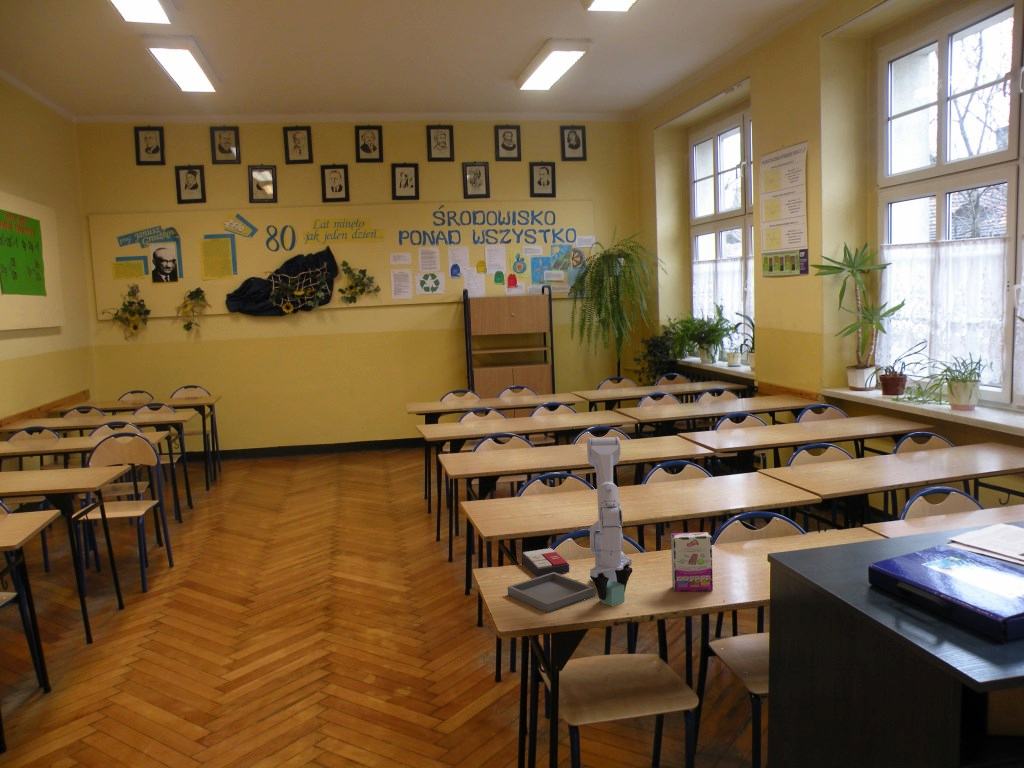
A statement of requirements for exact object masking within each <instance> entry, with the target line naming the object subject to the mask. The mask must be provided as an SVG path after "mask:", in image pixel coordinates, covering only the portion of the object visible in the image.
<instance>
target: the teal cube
mask: <svg viewBox="0 0 1024 768" xmlns="http://www.w3.org/2000/svg"><path fill="white" fill-rule="evenodd" d="M598 600H599V602H600V601H601V603H603V602H604V603H603V604H605V603H606V605H608V604H609V605H608V606H610V605H611V606H610V607H614V606H616V605H615V604H617V605H619V604H618V603H620V602H622V603H624V601H625V600H626V599H625V593H624V585H623V584H620V583H618V582H615V581H612V580H611V581H608V583H607V588H606V600H602V599H600V598H599V597H598ZM620 604H621V603H620ZM613 605H614V606H613Z"/></svg>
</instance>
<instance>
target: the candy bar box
mask: <svg viewBox="0 0 1024 768" xmlns="http://www.w3.org/2000/svg"><path fill="white" fill-rule="evenodd" d="M670 539H671V540H670V541H671V543H670V544H671V545H670V546H671V576H672V577H671V581H672V583H671V584H672V588H673V590H674V591H675V593H688V592H690V593H691V592H709V591H711V592H712V591H713V590H714V589H713V586H714V585H713V584H714V583H713V538H712V535H711V534H710V533H709V532H708V531H705V532H704V531H702V532H679V533H678V532H677V533H676V532H675V533H671V534H670Z"/></svg>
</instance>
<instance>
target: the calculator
mask: <svg viewBox="0 0 1024 768" xmlns="http://www.w3.org/2000/svg"><path fill="white" fill-rule="evenodd" d="M521 563H522V565H523V566H525V567H526V568H527V569H528V570H529V571H530V572H531V573H532V574H533V575H534V574H535V575H536V576H535V577H540V576H543V575H546V574H549V573H552V572H555V573H561V574H564V573H563V572H568V573H570V564H569V562H567V560H565V558H563V557H562V556H561V555H560V554H559V553H558V552H557V551H555V550H554V549H553V548H543V549H537V550H529V551H523V552H522V553H521Z"/></svg>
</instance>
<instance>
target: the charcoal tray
mask: <svg viewBox="0 0 1024 768" xmlns="http://www.w3.org/2000/svg"><path fill="white" fill-rule="evenodd" d="M595 588H596V587H593V586H591V585H588V584H585V583H583V582H580V581H578V580H575V579H573V578H570V577H567V576H565V575H564V574H558V573H555V572H552V573H549V574H546V575H543V576H540V577H537V576H535V577H534V578H531V579H528V580H527V579H526V580H525V581H521V582H518V583H515V584H512V585H508V586H507V596H509V595H510V597H511V596H512V597H511V598H514V599H516V600H518V601H521V603H524V602H525V604H526V605H529V606H531V607H532V608H536V609H537V608H538V610H540V611H542V612H544V611H545V613H546V612H547V613H546V614H549V613H551V611H552V612H555V611H557V610H556V609H558V610H560V609H563V608H565V606H566V607H569V606H571V604H572V605H574V604H577V603H580V602H583V601H585V600H584V599H586V600H588V599H591V598H593V596H594V597H596V593H595V592H596V591H595ZM590 597H591V598H590ZM582 600H583V601H582ZM579 601H580V602H579ZM576 602H577V603H576ZM568 605H569V606H568ZM562 607H563V608H562ZM554 610H555V611H554ZM548 612H549V613H548Z"/></svg>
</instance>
